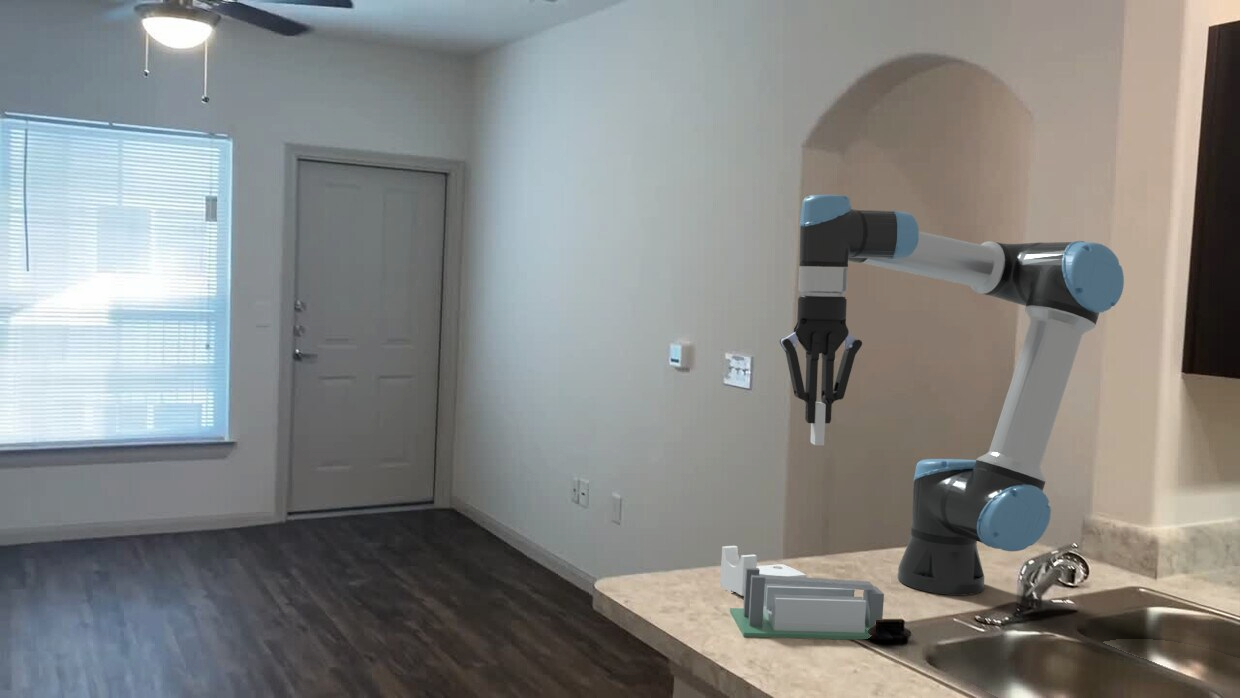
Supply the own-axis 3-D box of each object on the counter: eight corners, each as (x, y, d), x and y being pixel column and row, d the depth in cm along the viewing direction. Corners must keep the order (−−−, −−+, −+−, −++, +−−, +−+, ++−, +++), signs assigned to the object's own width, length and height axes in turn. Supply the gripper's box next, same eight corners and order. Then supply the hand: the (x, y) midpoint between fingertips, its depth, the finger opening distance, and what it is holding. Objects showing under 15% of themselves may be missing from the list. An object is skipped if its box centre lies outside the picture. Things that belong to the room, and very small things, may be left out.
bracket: (741, 601, 180) (744, 556, 180) (719, 589, 186) (722, 546, 186) (805, 594, 186) (807, 551, 185) (782, 583, 192) (784, 542, 192)
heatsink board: (869, 615, 175) (872, 566, 174) (893, 640, 163) (896, 587, 162) (729, 611, 173) (732, 561, 172) (743, 636, 161) (746, 583, 161)
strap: (868, 586, 169) (869, 581, 169) (872, 590, 167) (873, 585, 167) (750, 578, 168) (750, 573, 168) (753, 582, 166) (753, 577, 166)
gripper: (855, 294, 172) (850, 440, 174) (775, 293, 171) (771, 439, 173) (870, 296, 164) (864, 448, 166) (787, 294, 163) (782, 447, 165)
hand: (817, 443), depth 169 cm, fingers closed
